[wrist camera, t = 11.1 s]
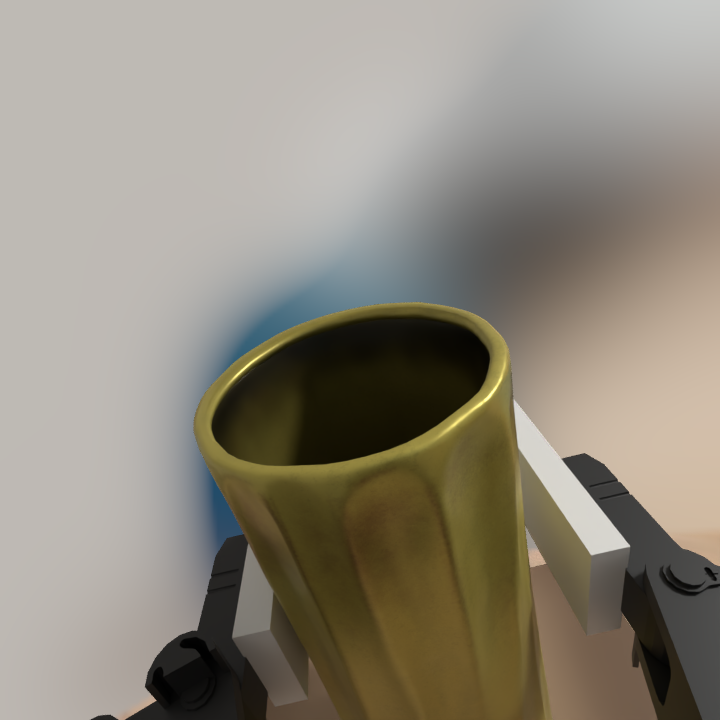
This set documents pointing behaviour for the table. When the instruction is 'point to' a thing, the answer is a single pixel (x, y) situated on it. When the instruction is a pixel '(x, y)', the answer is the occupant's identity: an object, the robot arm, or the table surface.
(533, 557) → the table surface
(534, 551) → the table surface
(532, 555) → the table surface
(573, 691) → the stand
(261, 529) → the vase
